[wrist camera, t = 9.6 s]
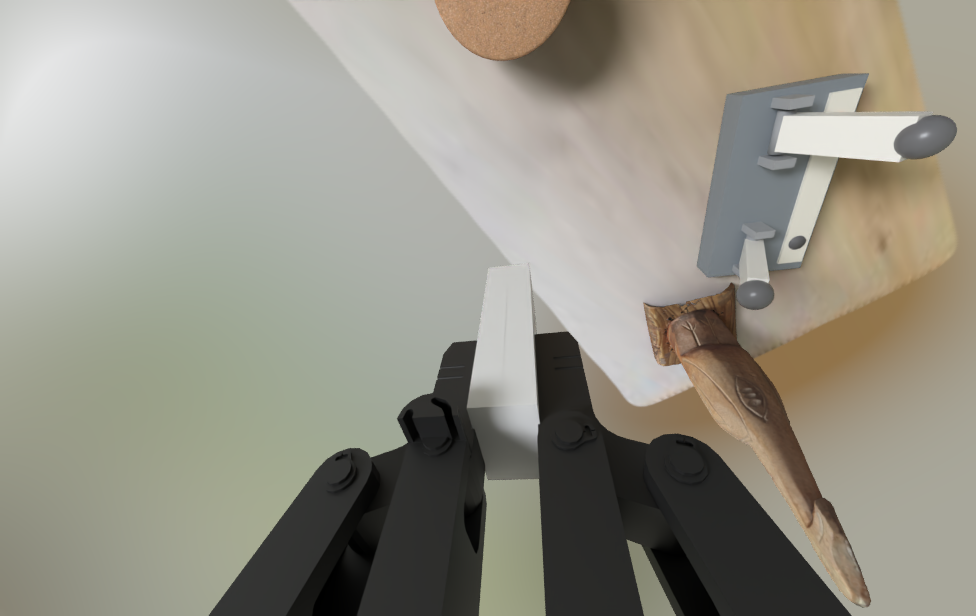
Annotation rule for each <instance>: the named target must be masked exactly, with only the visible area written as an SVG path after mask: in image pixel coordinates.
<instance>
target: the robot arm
mask: <svg viewBox="0 0 976 616" xmlns="http://www.w3.org/2000/svg"><path fill="white" fill-rule="evenodd" d="M397 419H398V422H399V424H400V426H401V428H402V430H403V433H404V435H405V437H406V439H407V441H408V443H407V444H405V445H404V446H402V447H399V448H397V449H395V450H392V451H389V452H386V453H383V454H380V455H377V456H375V457H371V458H370V456H369V454H368V453H367V452H366V451H364V450H362V449H360V448H349V449H346V450H343V451H340V452H337V453H336V454H334V455H333V456H331V457H330V458H328V459H327V460H326V461H325V462H324V463H323V464H322V465H321V466H320V467H319V468H318V469H317V470H316V472H315V473H314V475H313V476H312V477H311V478H310V480H309V481H308V482H307V484H306V485H305V486H304V488H303V489H302V490H301V492H300V493H299V495H298V496H297V497H296V499H295V500H294V501H293V503H292V504H291V505H290V507H289V508H288V510H287V511H286V512H285V513H284V515H283V516H282V517H281V519H280V520H279V521H278V523H277V524H276V526H275V527H274V528H273V530H272V531H271V532H270V534H269V535H268V536H267V538H266V539H265V540H264V542H263V543H262V544H261V546H260V547H259V548H258V550H257V551H256V553H255V554H254V555H253V557H252V558H251V559H250V561H249V562H248V563H247V565H246V566H245V567H244V569H243V570H242V571H241V573H240V574H239V575H238V577H237V578H236V579H235V581H234V582H233V583H232V585H231V586H230V587H229V589H228V590H227V592H226V593H225V594H224V596H223V597H222V598H221V600H220V601H219V602H218V604H217V605H216V606H215V608H214V609H213V610H212V612H211V613H210V615H209V616H479V603H480V588H481V575H482V560H483V547H484V534H485V533H484V532H485V520H486V505H487V503H486V495H485V492H484V476H485V472H486V475H487V479H488V480H512V479H539V485H540V506H541V525H542V546H543V565H544V566H543V568H544V588H545V606H546V607H545V609H546V616H644V614H643V610H642V606H641V601H640V596H639V592H638V588H637V583H636V579H635V575H634V571H633V566H632V562H631V557H630V554H629V549H628V544H627V540H630V541H633V542H635V543H638V544H641V545H642V547H643V549H644V551H645V553H646V555H647V557H648V559H649V561H650V563H651V565H652V567H653V569H654V571H655V573H656V575H657V577H658V580H659V582H660V584H661V586H662V588H663V590H664V592H665V594H666V596H667V598H668V600H669V602H670V604H671V606H672V608H673V610H674V612H675V614H676V616H851V614H850V613H849V612H848V611H847V610H846V608H845V607H844V606H843V605H842V603H841V602H840V601H839V600H838V599H837V597H836V596H835V595H834V594H833V593H832V591H831V590H830V589H829V588H828V587H827V586H826V584H825V583H824V582H823V581H822V579H821V578H820V577H819V576H818V575H817V574H816V572H815V571H814V570H813V569H812V567H811V566H810V565H809V564H808V562H807V561H806V560H805V559H804V558H803V556H802V555H801V554H800V553H799V552H798V550H797V549H796V548H795V547H794V546H793V544H792V543H791V542H790V541H789V540H788V538H787V537H786V536H785V535H784V533H783V532H782V531H781V530H780V529H779V527H778V526H777V525H776V524H775V523H774V521H773V520H772V519H771V518H770V516H769V515H768V514H767V513H766V512H765V511H764V509H763V508H762V507H761V506H760V504H759V503H758V502H757V501H756V500H755V499H754V497H753V496H752V495H751V494H750V493H749V491H748V490H747V489H746V487H745V486H744V485H743V484H742V483H741V481H740V480H739V479H738V478H737V477H736V475H735V474H734V473H733V472H732V471H731V469H730V468H729V467H728V466H727V465H726V463H725V462H724V461H723V460H722V458H721V457H720V456H719V455H718V454H717V453H716V452H715V451H713V450H712V449H711V448H710V447H709V446H708V445H707V444H705V443H703V442H701V441H699V440H697V439H695V438H693V437H690V436H686V435H681V434H665V435H662V436H660V437H658V438H656V439H653V440H652V442H651V443H650V444H646V443H642V442H638V441H634V440H630V439H626V438H623V437H620V436H617V435H615V434H614V433H612V432H610V431H608V430H607V429H606V428H605V427H604V426H602V425H601V424H600V423H599V421H598V420H597V418H596V417H595V414H594V412H593V409H592V404H591V399H590V395H589V390H588V386H587V381H586V377H585V373H584V369H583V364H582V359H581V355H580V350H579V346H578V342H577V341H576V340H575V339H574V337H573V336H572V335H571V334H570V333H569V332H558V333H545V334H537V330H536V318H535V310H534V301H533V293H532V284H531V275H530V266H529V263H525V264H517V265H509V266H500V267H492V268H489V269H488V275H487V283H486V289H485V295H484V301H483V307H482V314H481V320H480V327H479V333H478V340H477V341H466V342H456V343H455V342H454V343H452V344H451V346H450V347H449V348H448V349H447V351H446V352H445V353H444V355H443V358H442V362H441V366H440V370H439V374H438V380H437V381H436V384H435V388H434V392H433V393H431V394H427V395H422V396H420V397H418V398H416V399H414V400H412V401H411V402H410V403H409V404H407V405H406V406H405V407H404V408H403V410H402V411H401V413H400V414H399V416H398V418H397ZM626 539H627V540H626Z"/></svg>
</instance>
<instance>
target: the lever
mask: <svg viewBox="0 0 976 616" xmlns="http://www.w3.org/2000/svg"><path fill="white" fill-rule="evenodd" d="M739 277H740V286H739V288H738V289H737V292H736V298H737V301H738V302H739V304H740V305H742V306H743V307H745V308H747V309H751V310H759V309H763V308H765V307H767V306H768V305H769V304H770V303H771V302H772V301H773V299H774V290H773V288H772V287H771V285H770V284H768V283H769V280H770V279H769V272H768V266H767V260H766V254H765V247H764V241H763V240H762V239H757V240H754V239H753V238H751V237H750V236H748V235H747V236H746V239H745V241H744V245H743V249H742V253H741V257H740V261H739Z"/></svg>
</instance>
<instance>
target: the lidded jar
mask: <svg viewBox="0 0 976 616" xmlns="http://www.w3.org/2000/svg"><path fill="white" fill-rule="evenodd" d="M435 3H436V5H437V8H438V10H439V13H440V15H441V17H442V19H443V21H444V23H445V25H446V26H447V28H448V29H449V31H450V32H451V33H452V35H453V36H454V37H455V39H456V40H458V41H459V42H460V43H461V44H462V45H463V46H464V47H465V48H467V49H468V50H469V51H471V52H472V53H474V54H476V55H478V56H480V57H482V58H486V59H490V60H497V61H506V60H514V59H517V58H520V57H523V56H525V55H527V54H529V53H530V52H532V51H534V50H535V49H537V48H538V47H539V46H540V45H542V44H543V43H544V42H545V41H546V40H547V39H548V38H549V37H550V36H551V35H552V33H553V32H554V30H555V29H556V28H557V26H558V25H559V24H560V22H561V20H562V18H563V16H564V14H565V12H566V11H567V8H568V6H569V3H570V0H435Z"/></svg>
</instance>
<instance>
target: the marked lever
mask: <svg viewBox="0 0 976 616" xmlns="http://www.w3.org/2000/svg"><path fill="white" fill-rule="evenodd" d="M932 114H933V112H797V109H791V110H785V109H784V110H779V111H777V115H776V119H775V123H774V127H773V131H772V136H771V140H770V144H769V148H768V152H767V154H769V155H780V154H785V153H794V154H806V155H818V156H830V157H842V158H854V159H866V160H878V161H890V162H901V161H903V160H906V159H923V158H927V157H930V156H933V155H935V154H937V153H939V152H941V151H942V150H944V149H945V148H946V147H947V146H949V145H950V143H951V142H952V141H953V140H954V138H955V136H956V133H957V127H956V124H955V122H954V121H953V120H952V119H950V118H948V117H945V116H941V115H932Z"/></svg>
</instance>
